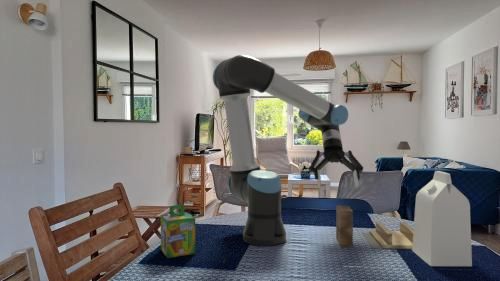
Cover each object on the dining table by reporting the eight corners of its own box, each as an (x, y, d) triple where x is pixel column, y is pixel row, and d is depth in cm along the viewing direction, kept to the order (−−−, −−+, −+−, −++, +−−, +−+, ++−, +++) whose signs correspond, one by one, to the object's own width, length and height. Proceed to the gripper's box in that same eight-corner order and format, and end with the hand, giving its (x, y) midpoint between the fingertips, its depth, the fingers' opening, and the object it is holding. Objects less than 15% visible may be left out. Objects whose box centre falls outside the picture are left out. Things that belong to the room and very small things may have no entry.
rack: (381, 247, 115) (381, 234, 114) (369, 233, 130) (369, 221, 129) (426, 248, 114) (426, 234, 113) (409, 234, 129) (409, 221, 128)
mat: (372, 249, 114) (372, 248, 114) (360, 233, 130) (360, 232, 130) (436, 250, 113) (436, 249, 113) (417, 234, 129) (417, 233, 129)
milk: (472, 267, 100) (474, 175, 99) (430, 267, 100) (432, 175, 99) (449, 251, 112) (451, 169, 111) (412, 251, 112) (413, 169, 111)
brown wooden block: (340, 247, 116) (340, 211, 116) (336, 239, 124) (336, 205, 124) (352, 247, 116) (353, 211, 115) (347, 239, 124) (348, 205, 123)
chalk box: (167, 259, 107) (166, 210, 106) (160, 249, 115) (159, 204, 114) (196, 254, 111) (196, 207, 111) (187, 245, 119) (187, 201, 119)
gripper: (361, 149, 148) (370, 192, 134) (301, 149, 150) (303, 191, 136) (365, 137, 142) (374, 180, 128) (302, 137, 144) (305, 180, 130)
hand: (338, 186), depth 132 cm, fingers open, 13 cm apart
